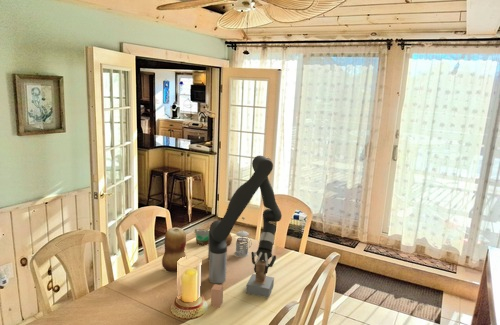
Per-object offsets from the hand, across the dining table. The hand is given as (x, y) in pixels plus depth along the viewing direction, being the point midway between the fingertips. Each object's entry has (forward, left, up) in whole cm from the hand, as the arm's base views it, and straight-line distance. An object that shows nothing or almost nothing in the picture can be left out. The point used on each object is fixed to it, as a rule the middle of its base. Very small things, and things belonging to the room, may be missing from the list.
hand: (260, 272), depth 184 cm
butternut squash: (-40, -33, -11) cm, 53 cm away
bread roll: (-65, +11, -11) cm, 67 cm away
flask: (-40, -7, -11) cm, 42 cm away
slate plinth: (-1, +1, -10) cm, 11 cm away
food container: (-67, -5, -11) cm, 68 cm away
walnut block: (-1, +1, -4) cm, 5 cm away
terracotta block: (+1, -25, -11) cm, 27 cm away
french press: (-42, +13, -11) cm, 46 cm away
